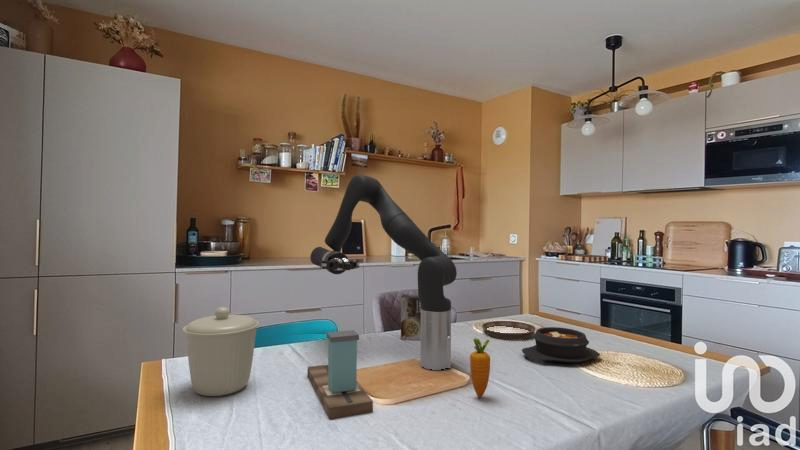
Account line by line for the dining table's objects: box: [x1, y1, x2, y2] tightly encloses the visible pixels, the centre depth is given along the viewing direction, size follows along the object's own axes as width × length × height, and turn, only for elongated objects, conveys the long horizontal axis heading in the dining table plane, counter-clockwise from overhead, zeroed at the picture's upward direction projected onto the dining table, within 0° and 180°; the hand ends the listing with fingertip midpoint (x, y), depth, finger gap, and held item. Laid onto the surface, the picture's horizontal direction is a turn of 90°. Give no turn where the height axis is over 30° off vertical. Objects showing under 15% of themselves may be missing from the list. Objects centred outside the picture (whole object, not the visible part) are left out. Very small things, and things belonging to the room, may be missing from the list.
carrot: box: [469, 337, 491, 399], centre depth 101 cm, size 5×5×15 cm
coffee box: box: [400, 293, 421, 341], centre depth 156 cm, size 9×6×16 cm
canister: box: [182, 306, 260, 397], centre depth 106 cm, size 18×18×21 cm
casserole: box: [521, 326, 601, 364], centre depth 133 cm, size 25×19×8 cm
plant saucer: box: [481, 320, 537, 341], centre depth 163 cm, size 21×21×3 cm
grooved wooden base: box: [306, 364, 374, 420], centre depth 104 cm, size 28×10×3 cm, turn 22°
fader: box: [326, 329, 360, 393], centre depth 99 cm, size 5×7×13 cm
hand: (347, 266), depth 124 cm, fingers closed
